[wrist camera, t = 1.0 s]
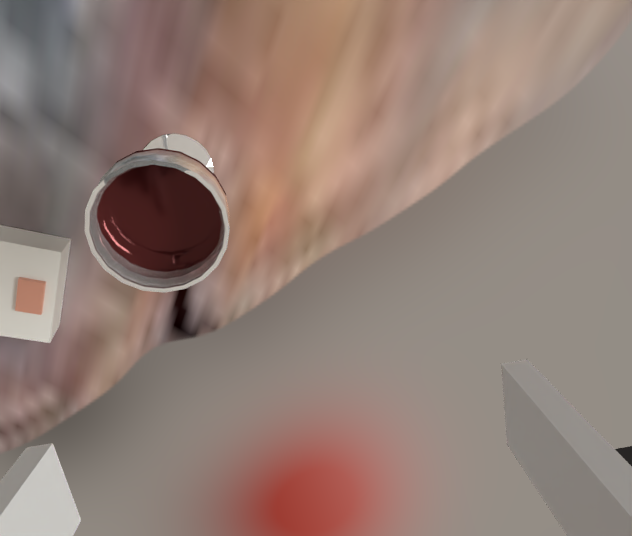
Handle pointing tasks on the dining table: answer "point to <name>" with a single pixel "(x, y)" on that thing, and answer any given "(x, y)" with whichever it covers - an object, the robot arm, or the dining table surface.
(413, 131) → the dining table surface
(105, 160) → the dining table surface
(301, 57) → the dining table surface
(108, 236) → the wineglass
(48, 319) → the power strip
